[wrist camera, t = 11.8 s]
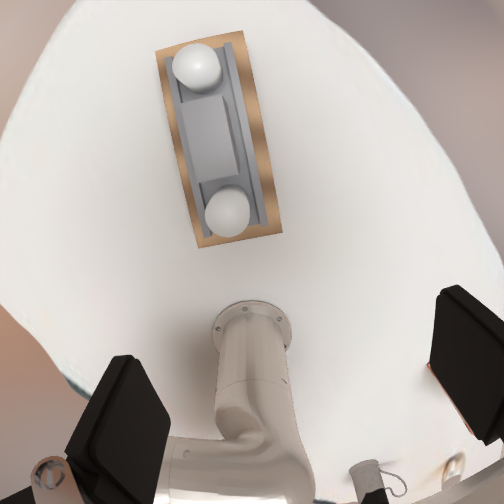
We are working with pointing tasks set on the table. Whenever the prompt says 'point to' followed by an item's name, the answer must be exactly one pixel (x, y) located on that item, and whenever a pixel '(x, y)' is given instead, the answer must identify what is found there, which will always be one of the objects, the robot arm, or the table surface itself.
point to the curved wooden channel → (255, 130)
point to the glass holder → (370, 483)
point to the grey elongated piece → (216, 139)
